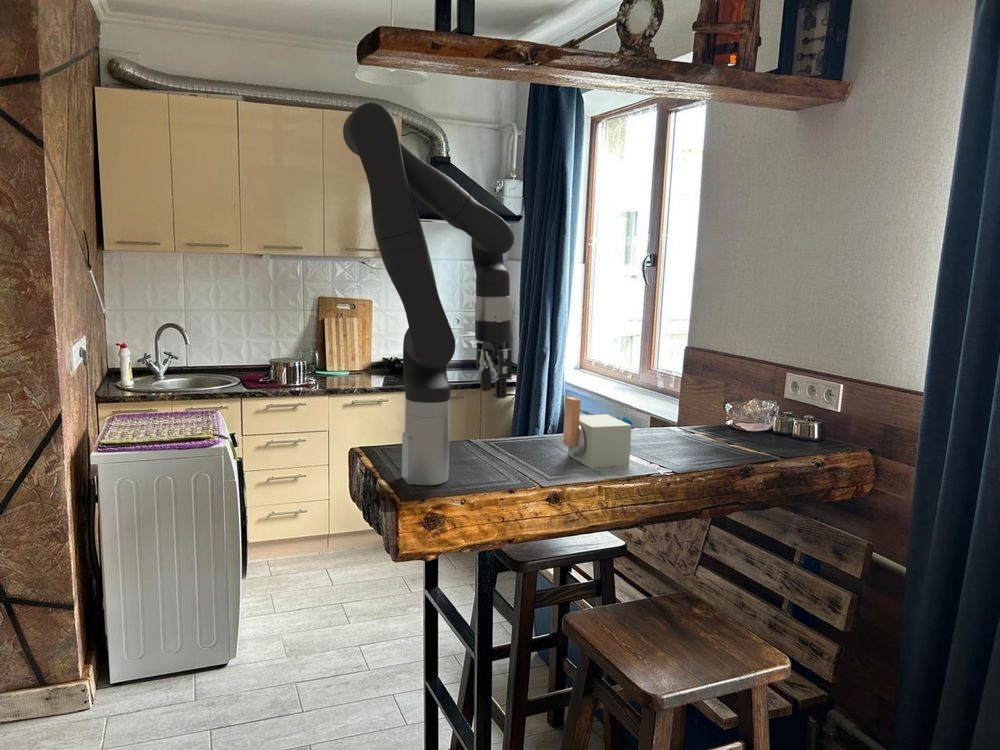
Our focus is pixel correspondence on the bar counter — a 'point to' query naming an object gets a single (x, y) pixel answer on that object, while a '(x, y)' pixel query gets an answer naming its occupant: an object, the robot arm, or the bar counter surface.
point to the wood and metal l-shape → (573, 427)
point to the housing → (605, 441)
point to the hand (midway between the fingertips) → (493, 394)
